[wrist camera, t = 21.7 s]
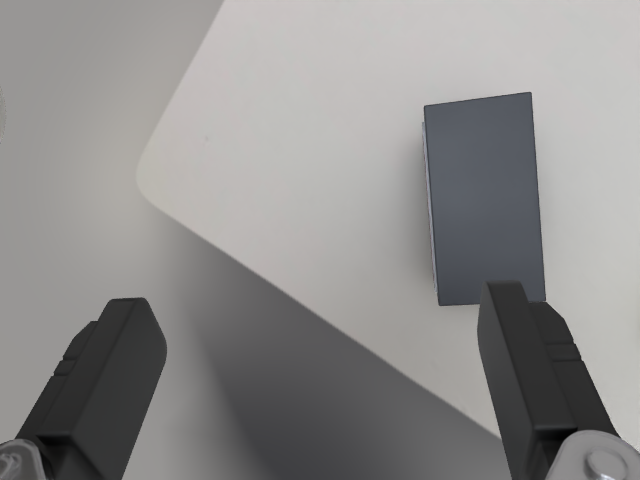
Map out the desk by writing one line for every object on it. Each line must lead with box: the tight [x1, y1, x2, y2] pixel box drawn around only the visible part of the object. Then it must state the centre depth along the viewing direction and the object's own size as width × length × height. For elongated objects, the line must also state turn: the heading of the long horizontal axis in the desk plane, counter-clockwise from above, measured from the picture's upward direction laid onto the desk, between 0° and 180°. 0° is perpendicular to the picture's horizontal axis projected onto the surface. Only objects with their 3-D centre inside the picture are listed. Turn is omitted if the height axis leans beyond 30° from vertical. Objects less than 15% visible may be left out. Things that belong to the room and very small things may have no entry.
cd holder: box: [422, 92, 546, 306], centre depth 29 cm, size 10×5×10 cm, turn 5°
